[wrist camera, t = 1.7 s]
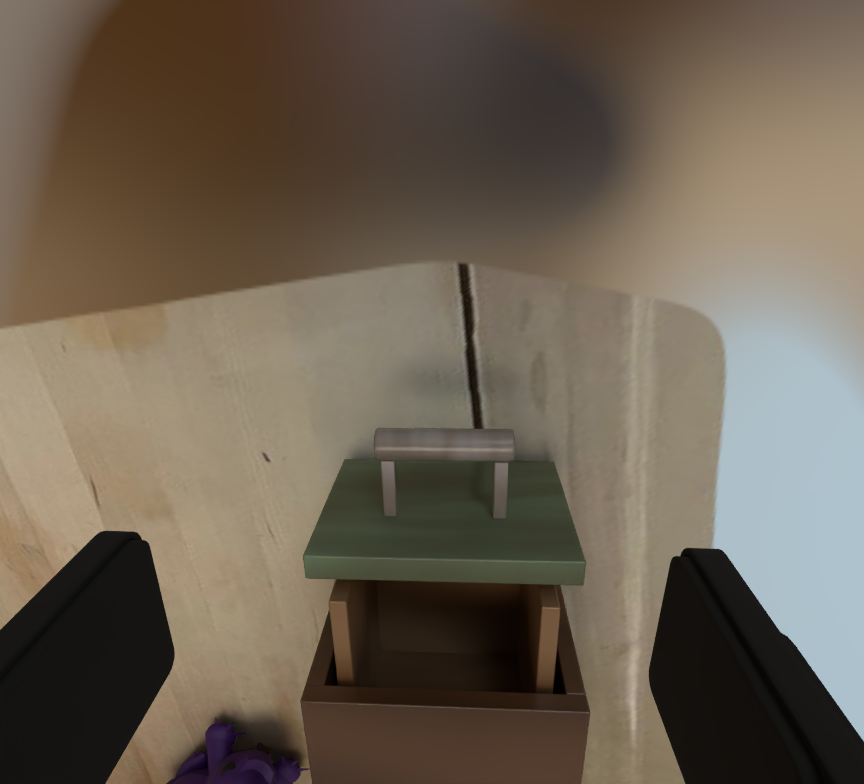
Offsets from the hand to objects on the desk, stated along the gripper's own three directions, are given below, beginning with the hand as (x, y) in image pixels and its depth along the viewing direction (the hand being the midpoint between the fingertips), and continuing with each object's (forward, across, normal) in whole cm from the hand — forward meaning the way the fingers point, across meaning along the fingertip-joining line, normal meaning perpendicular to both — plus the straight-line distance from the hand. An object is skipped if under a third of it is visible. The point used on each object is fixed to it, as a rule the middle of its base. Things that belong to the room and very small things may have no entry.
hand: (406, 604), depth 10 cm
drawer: (+19, -1, +12) cm, 22 cm away
